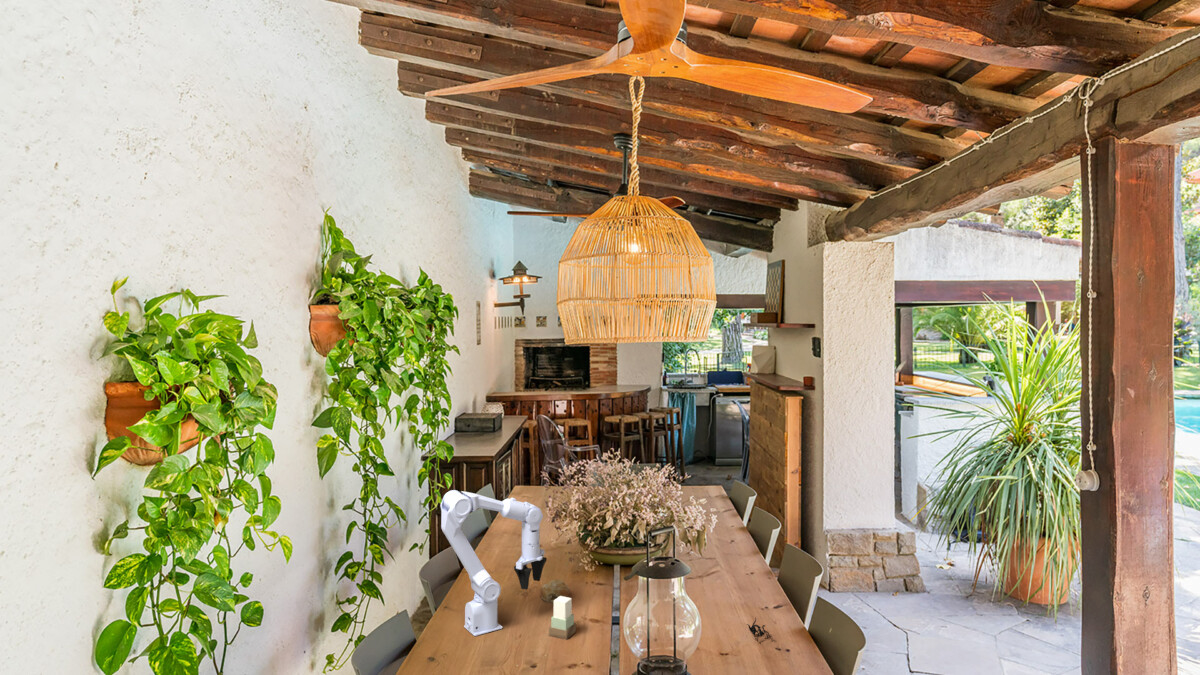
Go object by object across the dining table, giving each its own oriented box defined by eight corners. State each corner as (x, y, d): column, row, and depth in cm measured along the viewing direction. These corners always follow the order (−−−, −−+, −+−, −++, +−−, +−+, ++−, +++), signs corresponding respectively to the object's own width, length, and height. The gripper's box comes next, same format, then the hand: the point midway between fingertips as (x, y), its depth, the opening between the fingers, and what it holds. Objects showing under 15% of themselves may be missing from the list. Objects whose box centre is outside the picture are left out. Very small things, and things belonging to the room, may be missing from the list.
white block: (565, 619, 196) (565, 602, 196) (553, 617, 198) (553, 600, 198) (571, 614, 200) (571, 598, 200) (560, 612, 202) (560, 595, 202)
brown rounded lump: (541, 613, 223) (543, 595, 220) (537, 589, 232) (539, 572, 229) (570, 610, 226) (572, 592, 222) (564, 587, 235) (566, 570, 231)
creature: (777, 641, 198) (753, 628, 203) (781, 625, 197) (757, 612, 202) (766, 651, 192) (742, 637, 197) (770, 634, 191) (745, 621, 196)
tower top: (565, 630, 196) (565, 620, 196) (551, 627, 198) (551, 617, 198) (573, 624, 200) (573, 614, 200) (559, 620, 203) (559, 611, 203)
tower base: (566, 641, 195) (566, 631, 195) (548, 637, 198) (548, 627, 198) (575, 633, 201) (575, 623, 201) (558, 629, 203) (558, 619, 203)
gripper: (529, 550, 203) (529, 594, 203) (552, 537, 216) (552, 578, 216) (510, 547, 206) (510, 590, 206) (534, 534, 219) (534, 575, 219)
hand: (530, 584), depth 211 cm, fingers open, 7 cm apart
